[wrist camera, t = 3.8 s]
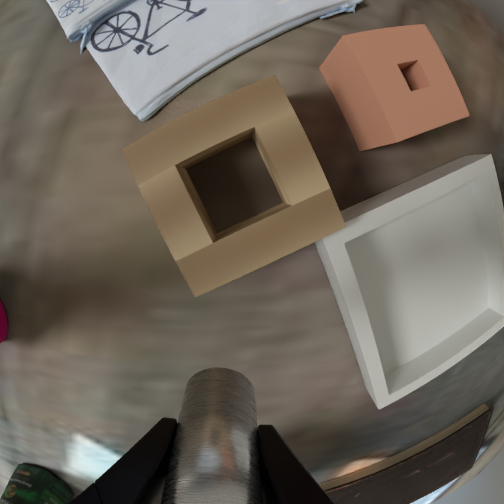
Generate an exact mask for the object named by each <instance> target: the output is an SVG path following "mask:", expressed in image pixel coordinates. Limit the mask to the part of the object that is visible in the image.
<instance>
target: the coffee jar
mask: <svg viewBox="0 0 504 504" xmlns="http://www.w3.org/2000/svg"><path fill="white" fill-rule="evenodd" d="M73 499H74V495H73V494H72V492H71V491H70V489H69V488H68V487H67V486H66V485H65V484H64V483H63V482H62V481H61V480H60V479H57V478H56V477H55V476H53V475H52V474H50V473H49V472H48V471H47V470H45V469H42V468H39V467H35V466H32V465H28V464H19V465H18V466H17V468H16V469H15V471H14V473H13V475H12V476H11V478H10V480H9V482H8V485H7V487H6V489H5V491H4V493H3V494H2V496H1V498H0V504H67V503H69V502H70V501H72V500H73Z"/></svg>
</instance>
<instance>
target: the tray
mask: <svg viewBox="0 0 504 504" xmlns="http://www.w3.org/2000/svg"><path fill="white" fill-rule="evenodd" d="M340 213H341V215H342V218H343V220H344V223H345V225H346V227H345V228H343V229H341V230H339V231H337V232H334V233H332V234H330V235H328V236H326V237H324V238H322V239H320V240H318V241H316V242H314V243H315V245H316V248H317V250H318V253H319V256H320V258H321V261H322V263H323V266H324V268H325V271H326V274H327V276H328V279H329V282H330V284H331V287H332V290H333V292H334V295H335V298H336V301H337V303H338V306H339V309H340V312H341V315H342V317H343V320H344V323H345V326H346V329H347V332H348V335H349V338H350V341H351V344H352V347H353V350H354V353H355V356H356V359H357V362H358V365H359V368H360V371H361V374H362V377H363V381H364V384H365V387H366V389H367V390H368V392H369V394H370V396H371V397H372V399H373V401H374V402H375V404H376V406H377V408H378V409H381V408H383V407H385V406H387V405H389V404H391V403H393V402H395V401H396V400H398V399H400V398H402V397H404V396H405V395H407V394H409V393H411V392H412V391H414V390H416V389H417V388H419V387H421V386H422V385H424V384H426V383H427V382H429V381H430V380H432V379H434V378H435V377H437V376H438V375H440V374H441V373H443V372H444V371H446V370H447V369H449V368H450V367H452V366H453V365H455V364H456V363H457V362H459V361H460V360H462V359H463V358H464V357H466V356H467V355H468V354H470V353H471V352H472V351H474V350H475V349H476V348H478V347H479V346H480V345H482V344H483V343H484V342H485V341H487V340H488V339H489V338H490V337H492V336H493V335H494V334H495V333H496V332H498V331H499V330H500V329H501V328H502V327H503V326H504V208H503V202H502V197H501V192H500V187H499V183H498V178H497V174H496V170H495V166H494V162H493V158H492V155H491V154H482V155H465V156H463V157H461V158H459V159H456V160H454V161H452V162H450V163H447V164H445V165H443V166H441V167H438V168H436V169H434V170H432V171H429V172H427V173H425V174H423V175H420V176H418V177H416V178H414V179H411V180H409V181H407V182H405V183H402V184H400V185H398V186H396V187H393V188H391V189H389V190H387V191H385V192H382V193H380V194H378V195H376V196H373V197H371V198H369V199H367V200H364V201H362V202H360V203H358V204H355V205H353V206H351V207H349V208H346V209H344V210H342V211H340Z"/></svg>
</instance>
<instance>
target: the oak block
mask: <svg viewBox="0 0 504 504" xmlns="http://www.w3.org/2000/svg"><path fill="white" fill-rule="evenodd" d="M122 152H123V154H124V156H125V159H126V161H127V163H128V165H129V168H130V170H131V172H132V174H133V176H134V179H135V181H136V183H137V185H138V187H139V189H140V191H141V194H142V196H143V198H144V200H145V202H146V204H147V206H148V208H149V210H150V212H151V214H152V216H153V218H154V220H155V222H156V224H157V226H158V228H159V230H160V232H161V234H162V236H163V238H164V240H165V242H166V244H167V246H168V248H169V250H170V252H171V254H172V256H173V258H174V260H175V261H176V263H177V265H178V267H179V269H180V271H181V273H182V274H183V276H184V278H185V280H186V282H187V284H188V285H189V287H190V289H191V291H192V293H193V295H194V296H195V298H196V297H198V296H200V295H202V294H204V293H207V292H209V291H211V290H213V289H215V288H218V287H220V286H222V285H224V284H226V283H228V282H231V281H233V280H235V279H237V278H239V277H241V276H244V275H246V274H248V273H250V272H252V271H254V270H256V269H259V268H261V267H263V266H265V265H267V264H269V263H271V262H274V261H276V260H278V259H280V258H282V257H284V256H286V255H288V254H291V253H293V252H295V251H297V250H299V249H301V248H303V247H305V246H307V245H309V244H312V243H314V242H316V241H318V240H320V239H322V238H324V237H326V236H328V235H330V234H332V233H334V232H337V231H339V230H341V229H343V228H345V227H346V225H345V223H344V220H343V218H342V215H341V213H340V210H339V208H338V205H337V203H336V200H335V198H334V196H333V193H332V191H331V188H330V186H329V184H328V181H327V179H326V177H325V175H324V172H323V170H322V168H321V166H320V163H319V161H318V159H317V157H316V155H315V152H314V150H313V148H312V146H311V144H310V142H309V140H308V138H307V136H306V133H305V131H304V129H303V127H302V125H301V123H300V121H299V119H298V117H297V115H296V113H295V111H294V109H293V107H292V106H291V104H290V102H289V100H288V98H287V96H286V94H285V92H284V90H283V89H282V87H281V85H280V83H279V81H278V79H277V78H276V76H275V75H274V76H271V77H269V78H266V79H263V80H261V81H258V82H255V83H253V84H250V85H248V86H245V87H243V88H240V89H238V90H236V91H233V92H231V93H229V94H226V95H224V96H222V97H220V98H217V99H215V100H213V101H211V102H209V103H206V104H204V105H202V106H200V107H198V108H196V109H194V110H192V111H190V112H188V113H186V114H184V115H182V116H180V117H178V118H176V119H174V120H172V121H170V122H168V123H167V124H165V125H163V126H161V127H159V128H157V129H156V130H154V131H152V132H150V133H148V134H147V135H145V136H143V137H142V138H140V139H138V140H136V141H135V142H133V143H131V144H130V145H128V146H126V147H125V148H123V149H122Z"/></svg>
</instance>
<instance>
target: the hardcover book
mask: <svg viewBox="0 0 504 504" xmlns="http://www.w3.org/2000/svg"><path fill="white" fill-rule="evenodd" d="M493 409H494V407H493V406H492V407H491V408H489V407H488V406H486V404H485V403H484V404H482V405H481V406H480V407H478V408H477V409H475V410H474V411H472V412H471V413H469V414H468V415H466V416H465V417H463V418H462V419H460V420H459V421H457V422H455V423H454V424H452V425H450V426H449V427H447V428H445V429H444V430H442V431H440V432H439V433H437V434H435V435H433V436H432V437H430V438H428V439H426V440H424V441H422V442H420V443H418V444H417V445H415V446H413V447H411V448H409V449H407V450H404V451H402V452H400V453H398V454H396V455H394V456H392V457H389V458H387V459H385V460H383V461H380V462H378V463H375V464H373V465H371V466H368V467H366V468H363V469H360V470H358V471H355V472H352V473H350V474H347V475H344V476H341V477H338V478H335V479H332V480H329V481H325V482H322V483H319V485H320V487H321V488H322V489H323V490H324V491H325V492H326V494H327V495H328V496H329V497H330V498H331V501H333V502H334V503H335V504H410V503H412V502H414V501H416V500H418V499H420V498H422V497H424V496H426V495H428V494H430V493H432V492H433V491H435V490H437V489H439V488H441V487H442V486H444V485H446V484H448V483H449V482H451V481H453V480H454V479H456V478H457V477H459V476H461V475H462V474H464V473H465V472H467V471H468V470H470V469H471V468H472V467H473V464H474V462H475V460H476V457H477V455H478V452H479V450H480V447H481V444H482V442H483V439H484V436H485V433H486V431H487V428H488V425H489V422H490V418H491V415H492V412H493Z"/></svg>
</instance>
